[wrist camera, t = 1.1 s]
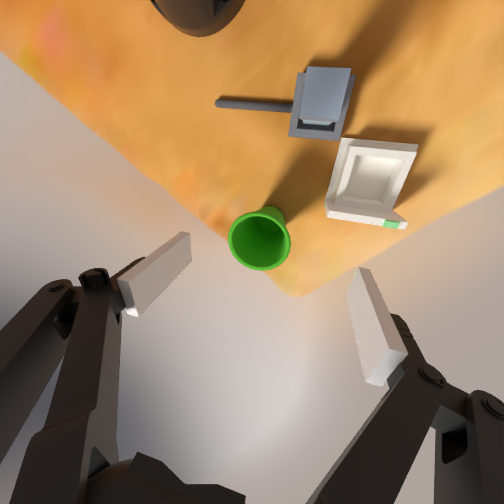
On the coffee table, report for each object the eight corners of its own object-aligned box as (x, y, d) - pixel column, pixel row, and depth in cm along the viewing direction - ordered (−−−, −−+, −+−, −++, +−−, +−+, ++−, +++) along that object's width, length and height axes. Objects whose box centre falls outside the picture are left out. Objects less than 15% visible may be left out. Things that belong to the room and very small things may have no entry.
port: (341, 137, 30) (350, 135, 23) (416, 144, 28) (449, 144, 21) (323, 204, 35) (327, 218, 28) (387, 214, 33) (406, 231, 26)
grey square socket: (298, 78, 28) (297, 72, 26) (352, 80, 27) (356, 74, 24) (289, 136, 31) (288, 136, 29) (336, 141, 30) (339, 140, 28)
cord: (216, 99, 31) (213, 98, 30) (294, 105, 29) (294, 103, 28) (216, 107, 32) (214, 106, 31) (293, 113, 30) (292, 112, 29)
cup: (298, 196, 35) (294, 216, 26) (291, 244, 39) (286, 275, 30) (247, 192, 37) (226, 209, 27) (246, 238, 41) (228, 266, 32)
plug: (307, 92, 28) (307, 66, 19) (337, 93, 27) (351, 68, 18) (301, 125, 30) (298, 116, 21) (329, 127, 29) (338, 119, 20)
